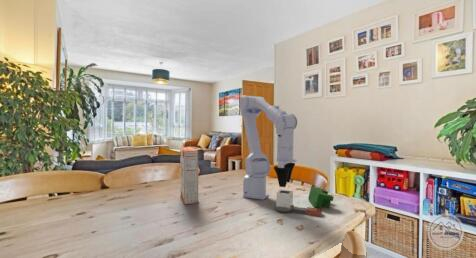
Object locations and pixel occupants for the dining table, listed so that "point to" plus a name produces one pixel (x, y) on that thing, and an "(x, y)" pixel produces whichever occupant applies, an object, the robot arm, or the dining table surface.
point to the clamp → (319, 197)
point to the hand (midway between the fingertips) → (284, 184)
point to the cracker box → (189, 175)
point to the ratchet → (300, 210)
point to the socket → (284, 199)
